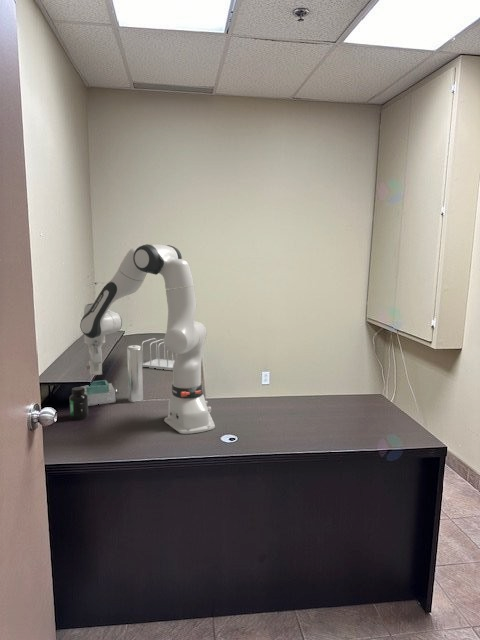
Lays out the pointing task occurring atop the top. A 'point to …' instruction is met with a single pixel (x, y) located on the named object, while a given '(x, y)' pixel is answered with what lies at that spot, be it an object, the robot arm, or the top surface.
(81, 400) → the supplement bottle
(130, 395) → the silver metal cylinder
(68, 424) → the top surface
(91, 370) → the pump block
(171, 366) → the file sorter
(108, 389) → the motor housing
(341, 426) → the top surface
